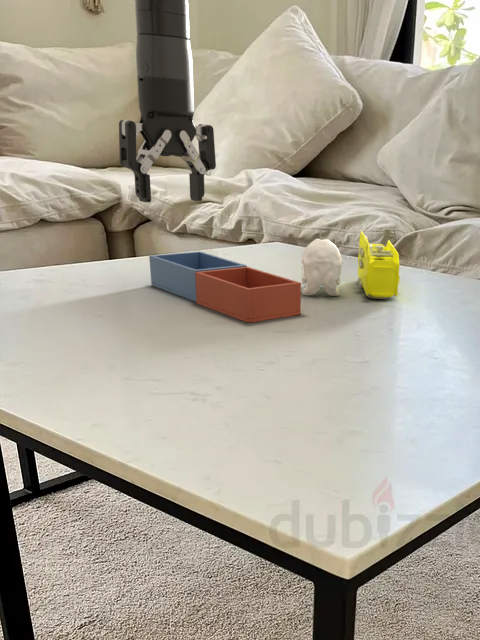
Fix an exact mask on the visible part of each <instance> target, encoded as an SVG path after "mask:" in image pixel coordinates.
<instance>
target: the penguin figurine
mask: <svg viewBox="0 0 480 640" xmlns="http://www.w3.org/2000/svg"><path fill="white" fill-rule="evenodd" d="M343 263H344V262H343V259H342V254H341V252H340V250H339V248H338V247H337V245H336V244H335V243H334V242H332V241H331V240H329V239H328V238H325V239H320V238H315V239H313V240H312V241H311V242H310V243H309V244H308V245H307V246H305V248H304V249H303V251H302V254H301V264H302V265H301V285H307V286H305V287H303V288H302V289H301V294H302V295H303V296H313V295H314V294H316V293H317V292H318V291H319V290H321V286H323V289H324V291H325V293H326V294H327V295H329V296H331V297H337V296H339V295H340V291H339V290H340V289H338V288H337V287H338V286H339V285H341V274H342V266H343Z"/></svg>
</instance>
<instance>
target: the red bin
mask: <svg viewBox="0 0 480 640" xmlns="http://www.w3.org/2000/svg"><path fill="white" fill-rule="evenodd" d="M195 277H196V298H197V302H196V304H197V305H199V306H203V307H205V308H208V309H211V310H212V311H216V312H218V313H221V314H224V315H227V316H228V317H232V318H234V319H237V320H240V321H243V322H245V323H248V324H249V323H257V322H262V321H268V320H275V319H280V318H286V317H293V316H299V315H301V313H302V312H301V311H302V309H301V307H302V306H301V305H302V282H301V281H295V280H294V279H290V278H288V277H287V278H286V277H284V276H280V275H276V274H274V273H271V272H267V271H263V270H260V269H257V268H254V267H250V266H247V267H239V268H230V269H220V270H211V271H201V272H195Z"/></svg>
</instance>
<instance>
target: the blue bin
mask: <svg viewBox="0 0 480 640" xmlns="http://www.w3.org/2000/svg"><path fill="white" fill-rule="evenodd" d="M148 257H149V272H150V284H151V286H153V287H155V288H158V289H160V290H164V291H166V292H169V293H171V294H174V295H177V296H179V297H182V298H185V299H188V300H190V301H192V302H196V303H197V298H196V277H195V272H201V271H211V270H220V269H230V268H239V267H248V265H247V264H243V263H240V262H237V261H234V260H231V259H228V258H224V257H220V256H217V255H214V254H211V253H206V252H204V251H201V250H199V251H189V252H177V253H166V254H164V253H163V254H155V255H148Z"/></svg>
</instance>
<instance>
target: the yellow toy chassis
mask: <svg viewBox="0 0 480 640" xmlns="http://www.w3.org/2000/svg"><path fill="white" fill-rule="evenodd" d="M358 244H359V245H358V257H357V265H358V266H357V276H358V277H357V286H358V289H360V290H362V289H363V291H364V293H365V295H366V296H367V297H368V298H370V299H374V300H385V299H387V298H392V297H393V296H395V297H397V298H398V292H399V284H400V281H401V279H400V278H401V277H400V255H399V254H400V253H399V252H398V251H397V249H396V248H395V247H394V245H393V244H392V242H391V240H387V242H386V246H385V245H383V244H382V243H370V242H369V238H368V236H367V235H365V234H364V231H363V230H361V231H360V233H359V241H358Z"/></svg>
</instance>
